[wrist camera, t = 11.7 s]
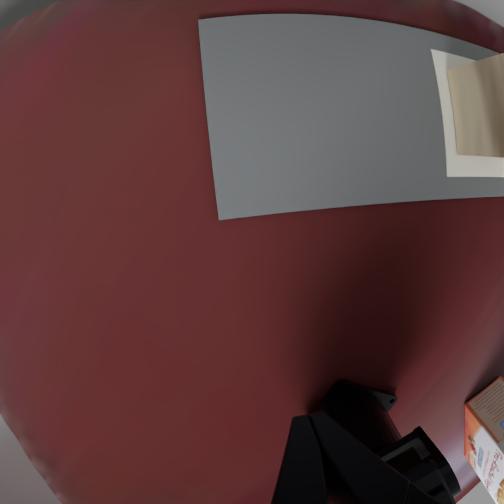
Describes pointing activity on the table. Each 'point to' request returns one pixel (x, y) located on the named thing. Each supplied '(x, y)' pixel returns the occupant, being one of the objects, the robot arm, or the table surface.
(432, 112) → the mat
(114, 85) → the table surface
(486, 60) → the birch cube
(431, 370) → the table surface
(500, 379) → the cracker box
